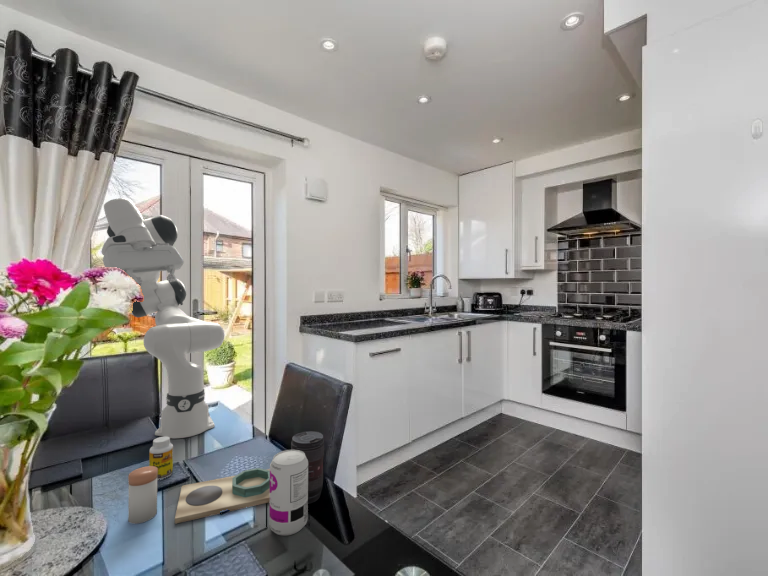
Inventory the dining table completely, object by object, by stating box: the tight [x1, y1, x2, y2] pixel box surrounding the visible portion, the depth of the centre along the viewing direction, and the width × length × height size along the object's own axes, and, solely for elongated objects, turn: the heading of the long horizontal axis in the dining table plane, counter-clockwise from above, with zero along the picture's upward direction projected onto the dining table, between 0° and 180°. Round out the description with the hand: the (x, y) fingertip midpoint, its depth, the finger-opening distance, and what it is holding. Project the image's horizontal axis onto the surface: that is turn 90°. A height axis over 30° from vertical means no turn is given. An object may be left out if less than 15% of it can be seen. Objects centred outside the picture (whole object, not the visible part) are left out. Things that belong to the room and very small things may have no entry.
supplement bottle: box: [148, 436, 174, 481], centre depth 98 cm, size 6×6×10 cm
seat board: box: [174, 467, 270, 525], centre depth 89 cm, size 14×22×3 cm, turn 114°
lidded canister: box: [127, 465, 158, 525], centre depth 81 cm, size 6×6×10 cm
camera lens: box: [290, 430, 325, 504], centre depth 89 cm, size 8×8×15 cm
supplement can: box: [268, 449, 309, 536], centre depth 79 cm, size 8×8×15 cm
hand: (156, 282), depth 104 cm, fingers open, 8 cm apart
